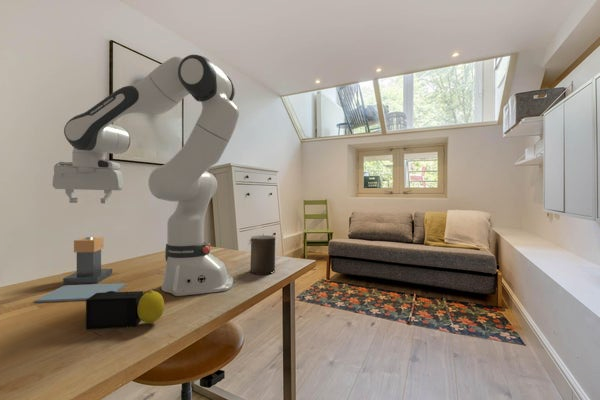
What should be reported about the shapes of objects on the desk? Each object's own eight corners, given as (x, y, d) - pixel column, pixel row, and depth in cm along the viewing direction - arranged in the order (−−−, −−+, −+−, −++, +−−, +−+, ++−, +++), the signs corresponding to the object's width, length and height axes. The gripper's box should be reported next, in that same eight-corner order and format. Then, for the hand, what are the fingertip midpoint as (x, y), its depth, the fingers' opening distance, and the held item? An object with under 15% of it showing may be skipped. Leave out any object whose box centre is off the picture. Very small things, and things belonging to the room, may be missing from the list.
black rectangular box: (145, 316, 68) (145, 288, 68) (136, 327, 63) (136, 297, 63) (99, 318, 66) (99, 290, 66) (86, 330, 61) (85, 299, 61)
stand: (112, 274, 101) (112, 235, 100) (97, 283, 91) (97, 239, 90) (81, 275, 99) (81, 235, 98) (63, 284, 89) (63, 240, 89)
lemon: (152, 331, 61) (152, 295, 61) (131, 328, 62) (131, 293, 62) (169, 319, 66) (169, 287, 66) (149, 317, 68) (149, 285, 67)
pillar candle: (273, 275, 104) (274, 235, 103) (247, 274, 104) (248, 235, 104) (275, 268, 113) (276, 232, 113) (252, 267, 114) (253, 231, 113)
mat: (126, 284, 90) (126, 283, 90) (107, 299, 78) (107, 297, 78) (64, 287, 86) (64, 285, 86) (34, 302, 75) (34, 300, 75)
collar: (103, 248, 98) (103, 237, 98) (94, 252, 92) (94, 240, 92) (84, 248, 97) (84, 237, 97) (73, 252, 91) (73, 240, 91)
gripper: (47, 160, 89) (47, 203, 89) (117, 163, 92) (116, 204, 93) (60, 162, 95) (60, 202, 95) (125, 165, 99) (125, 203, 99)
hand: (89, 203), depth 94 cm, fingers open, 8 cm apart
